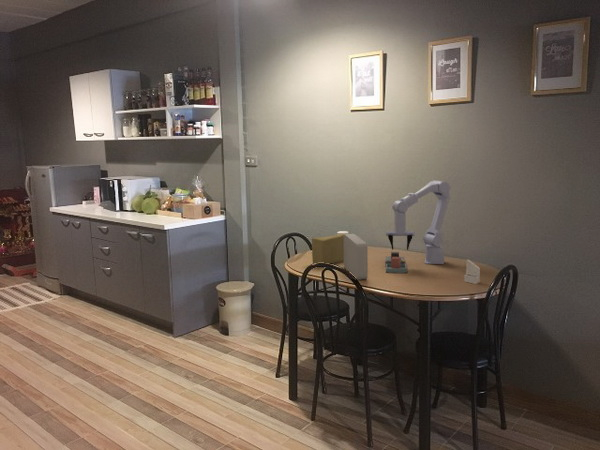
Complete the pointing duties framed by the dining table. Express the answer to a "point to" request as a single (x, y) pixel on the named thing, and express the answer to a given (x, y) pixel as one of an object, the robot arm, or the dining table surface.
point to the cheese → (328, 249)
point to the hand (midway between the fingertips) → (400, 249)
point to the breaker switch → (394, 254)
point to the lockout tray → (395, 270)
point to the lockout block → (396, 262)
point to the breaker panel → (388, 260)
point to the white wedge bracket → (472, 273)
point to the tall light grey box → (356, 256)
